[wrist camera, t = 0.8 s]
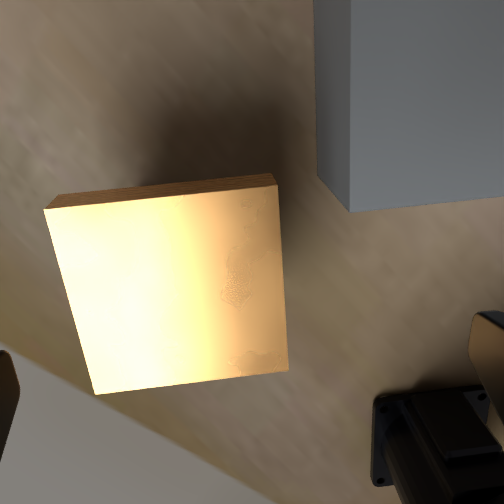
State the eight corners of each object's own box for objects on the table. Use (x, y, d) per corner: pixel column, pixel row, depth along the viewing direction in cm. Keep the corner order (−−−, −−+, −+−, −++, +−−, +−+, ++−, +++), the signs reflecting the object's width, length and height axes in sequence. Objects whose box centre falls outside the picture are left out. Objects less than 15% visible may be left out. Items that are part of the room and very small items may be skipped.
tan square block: (268, 291, 22) (288, 370, 17) (122, 308, 22) (95, 394, 17) (257, 146, 20) (277, 185, 14) (90, 163, 19) (43, 209, 14)
